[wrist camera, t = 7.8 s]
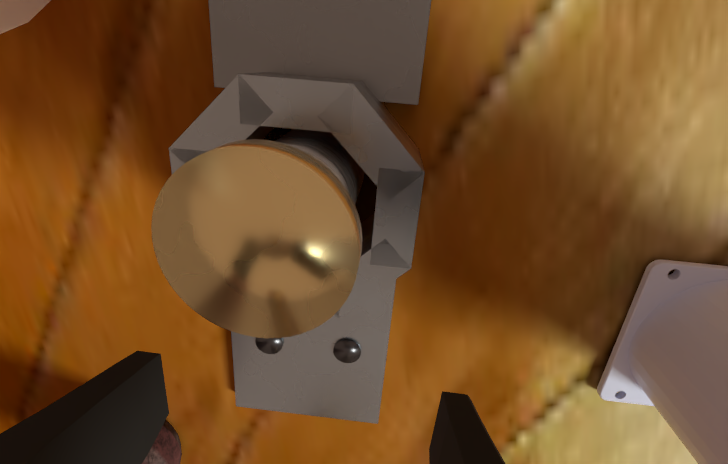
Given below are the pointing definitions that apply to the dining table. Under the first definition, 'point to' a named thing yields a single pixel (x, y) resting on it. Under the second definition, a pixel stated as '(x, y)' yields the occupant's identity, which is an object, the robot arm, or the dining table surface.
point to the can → (165, 447)
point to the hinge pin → (263, 233)
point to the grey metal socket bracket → (361, 140)
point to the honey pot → (18, 12)
